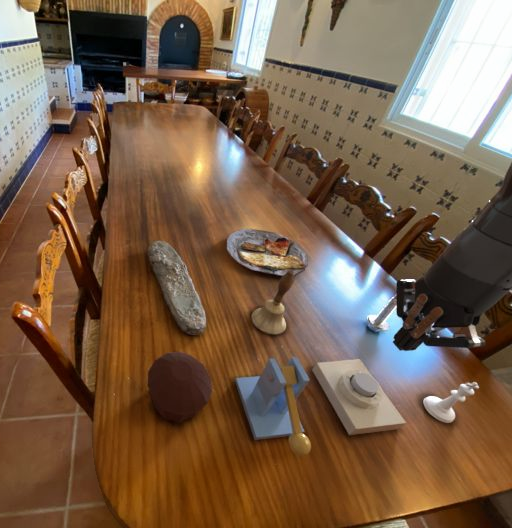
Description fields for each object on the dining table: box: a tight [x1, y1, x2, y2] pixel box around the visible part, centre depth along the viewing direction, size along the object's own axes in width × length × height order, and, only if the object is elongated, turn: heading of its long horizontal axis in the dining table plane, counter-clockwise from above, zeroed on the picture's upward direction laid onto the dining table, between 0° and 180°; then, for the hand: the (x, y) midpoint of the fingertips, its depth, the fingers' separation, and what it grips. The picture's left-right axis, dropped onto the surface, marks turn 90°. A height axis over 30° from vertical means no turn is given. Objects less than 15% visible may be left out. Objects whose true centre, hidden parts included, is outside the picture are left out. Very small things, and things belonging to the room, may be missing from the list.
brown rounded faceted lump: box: [147, 351, 213, 424], centre depth 53 cm, size 12×11×10 cm
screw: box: [365, 293, 397, 333], centre depth 69 cm, size 13×5×5 cm
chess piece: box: [423, 381, 480, 424], centre depth 55 cm, size 5×5×10 cm
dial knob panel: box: [311, 358, 407, 436], centre depth 57 cm, size 13×10×4 cm
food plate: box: [226, 228, 309, 277], centre depth 93 cm, size 25×23×4 cm
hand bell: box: [250, 270, 295, 335], centre depth 68 cm, size 8×8×16 cm
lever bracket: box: [234, 356, 311, 441], centre depth 52 cm, size 11×9×13 cm
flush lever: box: [279, 365, 312, 457], centre depth 48 cm, size 13×3×3 cm
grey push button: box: [351, 372, 379, 397], centre depth 56 cm, size 4×4×2 cm
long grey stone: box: [147, 240, 207, 336], centre depth 79 cm, size 35×5×10 cm
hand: (400, 346), depth 48 cm, fingers closed
